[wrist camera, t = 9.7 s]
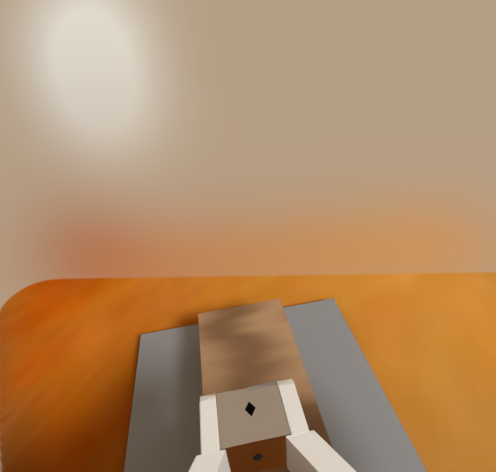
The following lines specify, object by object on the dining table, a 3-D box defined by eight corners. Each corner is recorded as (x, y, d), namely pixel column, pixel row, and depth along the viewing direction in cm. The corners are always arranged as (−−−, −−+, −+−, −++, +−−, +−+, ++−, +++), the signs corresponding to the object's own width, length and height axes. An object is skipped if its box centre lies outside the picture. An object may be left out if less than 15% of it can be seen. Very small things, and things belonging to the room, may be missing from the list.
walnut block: (364, 585, 13) (280, 325, 25) (376, 571, 12) (280, 298, 23) (225, 624, 13) (204, 339, 24) (215, 617, 11) (198, 313, 22)
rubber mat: (332, 304, 27) (333, 298, 27) (441, 512, 16) (446, 507, 15) (143, 340, 25) (140, 334, 25) (113, 600, 14) (107, 597, 14)
